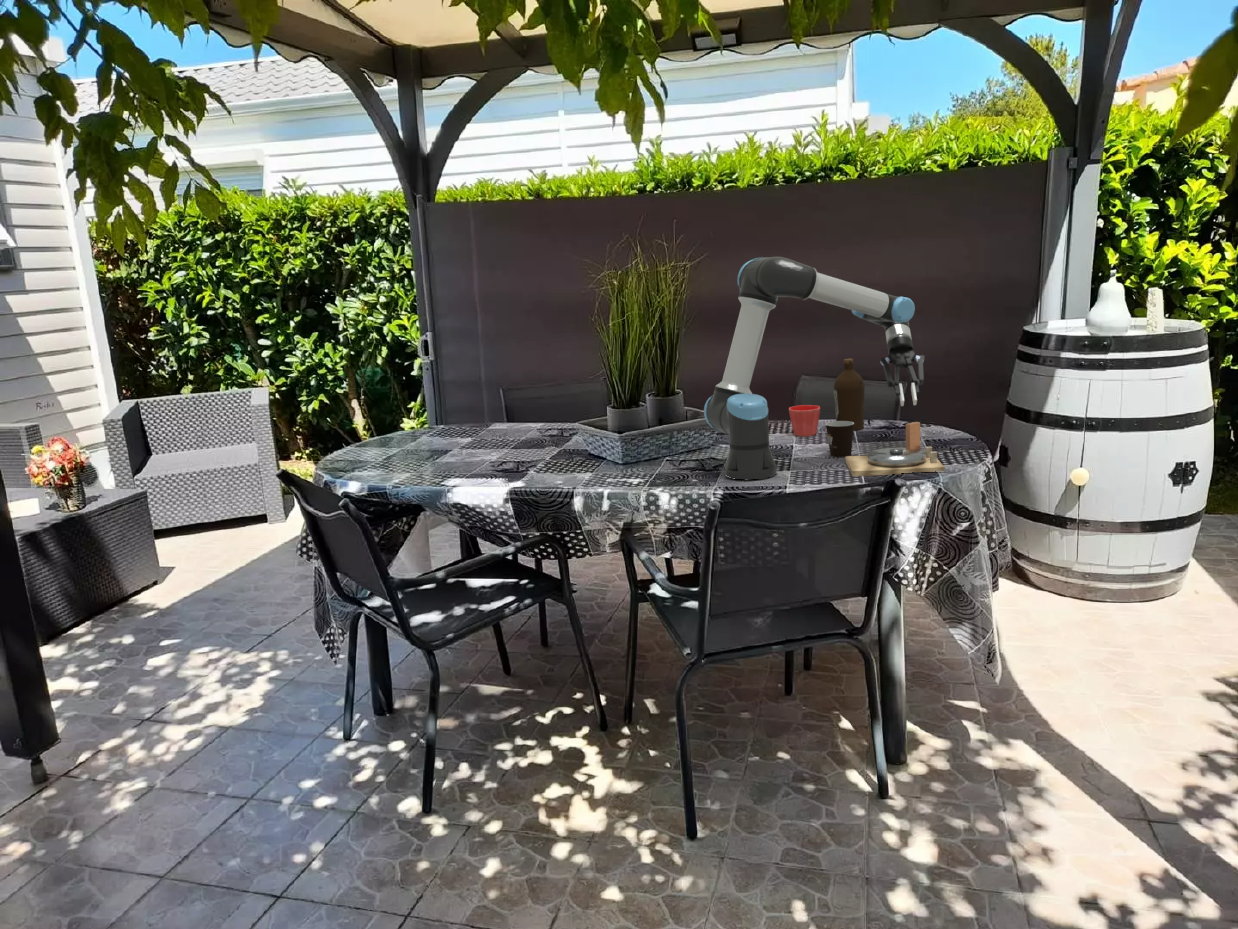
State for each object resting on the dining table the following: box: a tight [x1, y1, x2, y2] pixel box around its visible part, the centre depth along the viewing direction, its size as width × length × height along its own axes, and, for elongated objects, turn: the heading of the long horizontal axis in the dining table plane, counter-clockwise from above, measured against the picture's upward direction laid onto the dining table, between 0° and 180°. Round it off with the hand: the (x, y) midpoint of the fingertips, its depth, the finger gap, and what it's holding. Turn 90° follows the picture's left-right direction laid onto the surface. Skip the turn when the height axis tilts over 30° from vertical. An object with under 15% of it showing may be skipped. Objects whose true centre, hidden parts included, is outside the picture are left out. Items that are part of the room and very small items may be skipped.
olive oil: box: [833, 358, 866, 432], centre depth 310 cm, size 11×11×25 cm
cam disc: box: [867, 421, 926, 467], centre depth 253 cm, size 16×16×10 cm
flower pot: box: [788, 404, 821, 437], centre depth 309 cm, size 11×11×10 cm
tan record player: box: [844, 446, 946, 477], centre depth 254 cm, size 25×19×4 cm
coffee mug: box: [825, 420, 855, 458], centre depth 275 cm, size 12×9×10 cm
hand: (908, 402), depth 263 cm, fingers open, 3 cm apart
